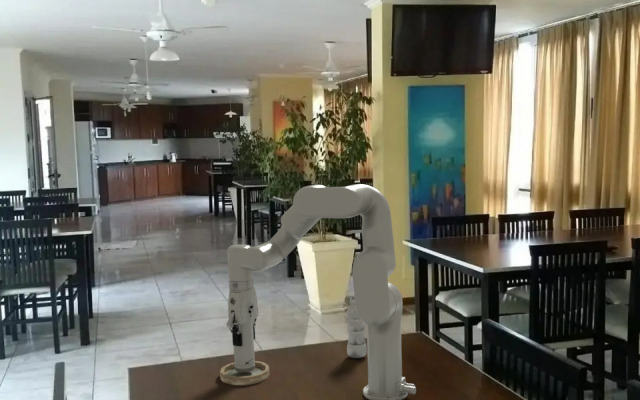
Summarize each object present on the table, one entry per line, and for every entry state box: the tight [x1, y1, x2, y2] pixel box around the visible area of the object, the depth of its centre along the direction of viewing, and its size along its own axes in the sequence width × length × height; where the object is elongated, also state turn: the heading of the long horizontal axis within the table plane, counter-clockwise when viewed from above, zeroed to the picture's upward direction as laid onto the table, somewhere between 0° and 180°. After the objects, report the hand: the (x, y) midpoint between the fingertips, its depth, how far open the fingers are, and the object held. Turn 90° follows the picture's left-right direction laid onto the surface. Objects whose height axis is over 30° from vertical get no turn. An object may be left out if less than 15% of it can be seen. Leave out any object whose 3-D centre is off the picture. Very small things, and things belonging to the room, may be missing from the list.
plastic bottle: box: [346, 296, 368, 359], centre depth 205 cm, size 6×7×20 cm
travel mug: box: [233, 305, 256, 372], centre depth 191 cm, size 6×7×20 cm
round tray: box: [219, 360, 270, 386], centre depth 192 cm, size 15×15×2 cm
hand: (244, 341), depth 191 cm, fingers closed on travel mug, 6 cm apart
